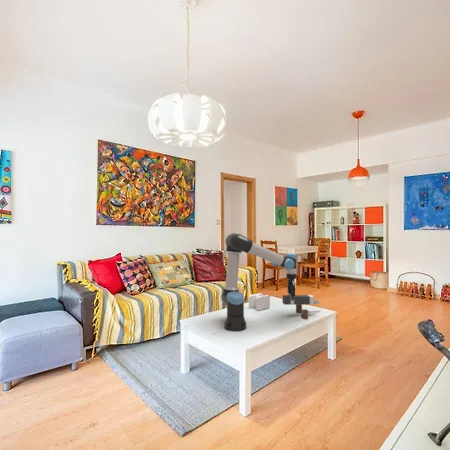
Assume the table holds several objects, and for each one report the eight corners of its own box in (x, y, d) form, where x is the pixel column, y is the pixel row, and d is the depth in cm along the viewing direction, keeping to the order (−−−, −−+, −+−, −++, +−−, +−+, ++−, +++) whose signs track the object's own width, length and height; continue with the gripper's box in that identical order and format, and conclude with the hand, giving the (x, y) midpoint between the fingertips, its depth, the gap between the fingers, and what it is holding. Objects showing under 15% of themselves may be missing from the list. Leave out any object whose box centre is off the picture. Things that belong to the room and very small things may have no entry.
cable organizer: (256, 311, 232) (256, 297, 232) (248, 308, 241) (248, 294, 241) (270, 308, 240) (270, 294, 240) (261, 305, 249) (261, 292, 249)
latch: (318, 304, 229) (318, 300, 229) (297, 305, 228) (297, 301, 228) (317, 303, 232) (317, 299, 232) (296, 303, 231) (296, 300, 231)
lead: (284, 304, 219) (284, 296, 219) (282, 302, 224) (282, 295, 224) (313, 304, 220) (313, 296, 220) (311, 302, 225) (311, 295, 225)
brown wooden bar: (302, 318, 214) (302, 310, 214) (295, 311, 231) (295, 304, 231) (308, 318, 214) (307, 310, 214) (300, 311, 231) (300, 304, 231)
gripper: (283, 271, 230) (283, 300, 230) (289, 275, 212) (289, 306, 212) (292, 271, 231) (292, 300, 231) (299, 275, 213) (299, 306, 213)
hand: (291, 303), depth 222 cm, fingers closed on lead, 5 cm apart
